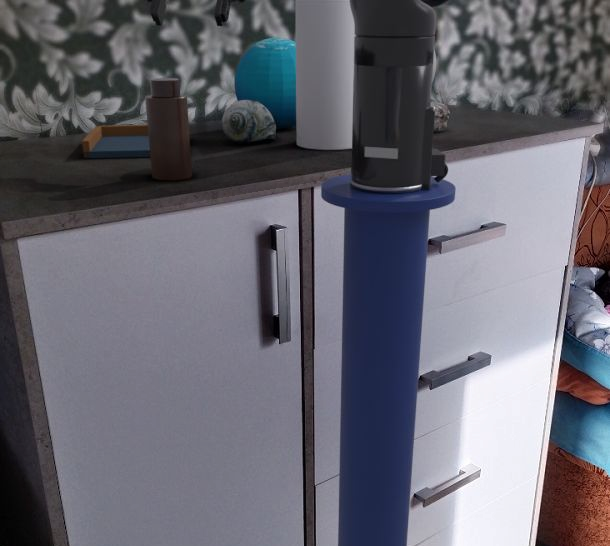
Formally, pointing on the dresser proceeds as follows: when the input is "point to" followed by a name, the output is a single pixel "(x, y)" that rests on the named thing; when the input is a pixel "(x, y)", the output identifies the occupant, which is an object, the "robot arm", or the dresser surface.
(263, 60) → the decorative orb
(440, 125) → the stone
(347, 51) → the tall pillar cylinder
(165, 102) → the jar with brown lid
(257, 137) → the seashell
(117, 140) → the corner mat
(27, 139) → the dresser surface
